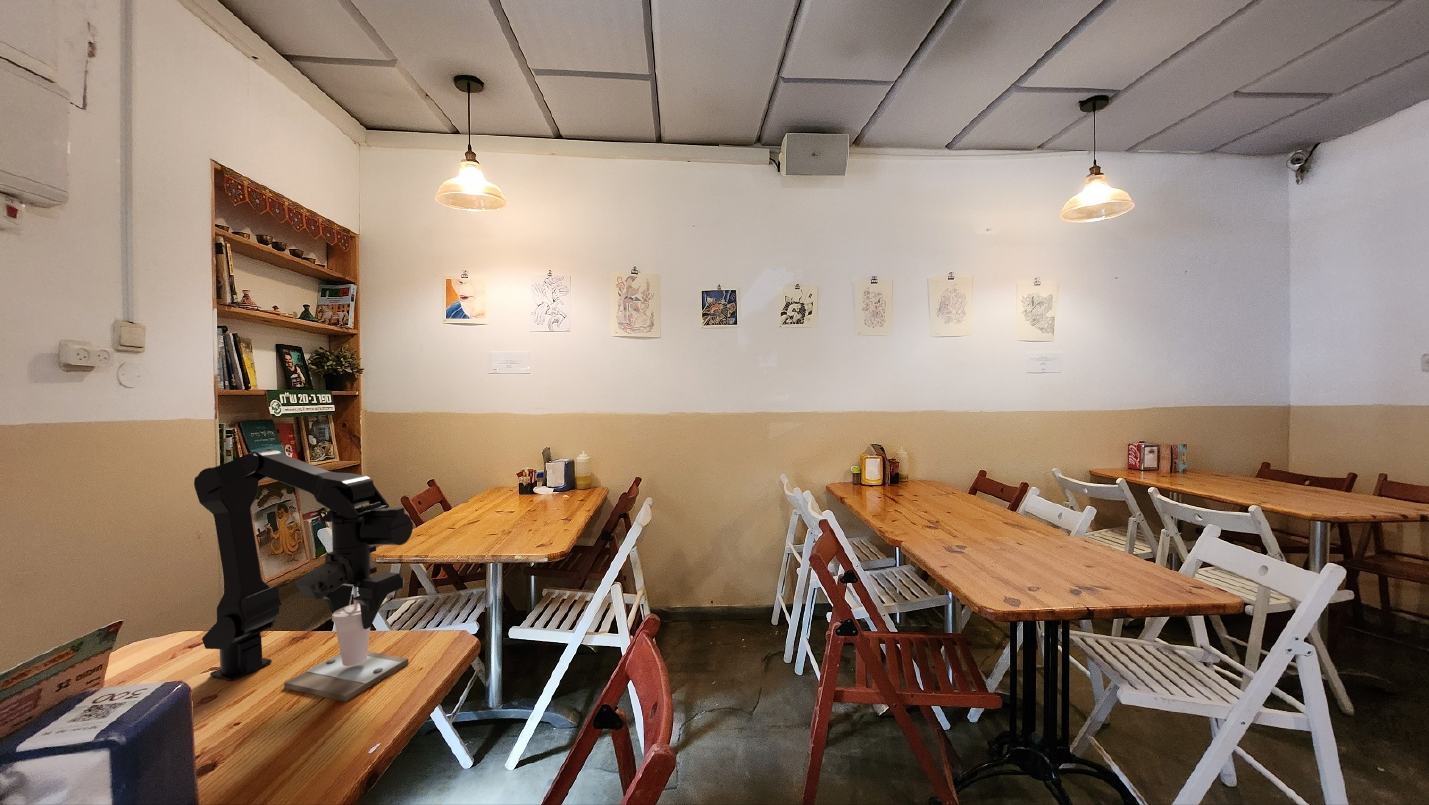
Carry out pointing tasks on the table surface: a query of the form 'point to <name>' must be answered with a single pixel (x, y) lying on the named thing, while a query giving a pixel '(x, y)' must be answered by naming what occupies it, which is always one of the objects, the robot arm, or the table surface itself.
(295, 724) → the table surface
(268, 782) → the table surface
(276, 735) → the table surface
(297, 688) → the gray and brown board
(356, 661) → the smoothie
